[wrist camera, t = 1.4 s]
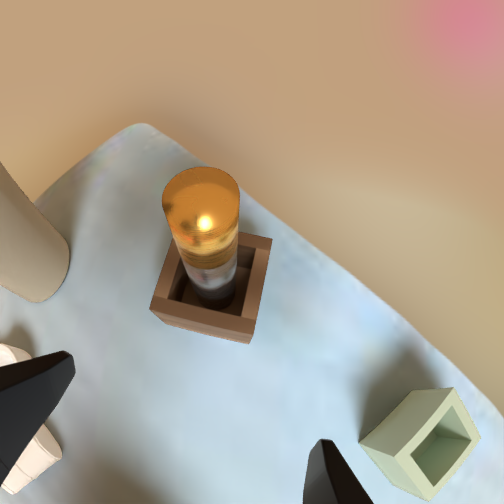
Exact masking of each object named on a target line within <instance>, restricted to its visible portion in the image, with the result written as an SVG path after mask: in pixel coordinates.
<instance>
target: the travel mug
mask: <svg viewBox="0 0 504 504" xmlns="http://www.w3.org/2000/svg"><path fill="white" fill-rule="evenodd" d="M68 266H69V248H68V245H67V242H66V241H65V239H64V238H63V237H62V236H61V235H60V234H59V232H58V231H57V230H56V229H55V228H54V227H53V226H52V225H51V224H50V223H49V222H48V220H47V219H46V218H45V217H44V216H43V215H42V214H41V213H40V211H39V210H38V209H37V208H36V207H35V206H34V204H33V203H32V202H31V201H30V200H29V198H28V197H27V196H26V195H25V194H24V192H23V191H22V190H21V189H20V187H19V186H18V185H17V183H16V182H15V181H14V180H13V178H12V177H11V176H10V174H9V173H8V172H7V170H6V169H5V168H4V166H3V165H2V163H1V162H0V285H1V286H3V287H5V288H6V289H8V290H10V291H11V292H13V293H15V294H17V295H18V296H20V297H22V298H24V299H25V300H27V301H30V302H34V303H37V302H42V301H44V300H46V299H48V298H49V297H51V296H52V295H53V294H54V293H55V292H56V291H57V290H58V288H59V287H60V285H61V284H62V282H63V280H64V278H65V276H66V273H67V270H68Z"/></svg>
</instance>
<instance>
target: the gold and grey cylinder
mask: <svg viewBox="0 0 504 504" xmlns="http://www.w3.org/2000/svg"><path fill="white" fill-rule="evenodd" d="M239 201H240V192H239V188H238V185H237V183H236V182H235V180H234V179H233V178H232V177H231V176H230V175H229V174H227V173H226V172H224V171H222V170H220V169H217V168H212V167H195V168H191V169H188V170H185V171H183V172H181V173H179V174H178V175H176V176H175V177H174V178H173V179H171V180H170V182H169V183H168V184H167V186H166V187H165V189H164V192H163V195H162V207H163V210H164V213H165V215H166V218H167V221H168V224H169V227H170V229H171V232H172V235H173V238H174V240H175V243H176V246H177V248H178V251H179V254H180V256H181V259H182V261H183V264H184V266H185V269H186V272H187V274H188V277H189V279H190V282H191V284H192V286H193V289H194V291H195V294H196V296H197V299H198V301H199V302H200V303H201V304H202V305H203V306H204V307H205V308H207V309H210V310H221V309H224V308H226V307H228V306H229V305H230V304H231V303H232V301H233V300H234V298H235V293H236V269H237V245H238V222H239Z"/></svg>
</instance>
